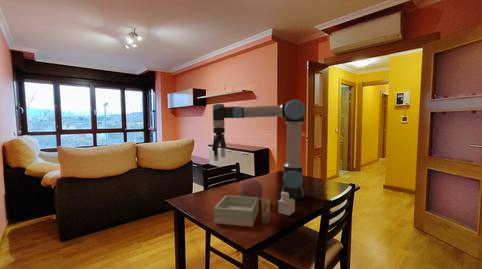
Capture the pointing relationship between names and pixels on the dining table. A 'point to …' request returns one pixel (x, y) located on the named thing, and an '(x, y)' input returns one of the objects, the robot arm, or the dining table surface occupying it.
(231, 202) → the box
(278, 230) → the dining table surface
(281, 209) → the medicine bottle
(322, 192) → the dining table surface
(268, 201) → the dowel
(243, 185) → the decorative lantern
